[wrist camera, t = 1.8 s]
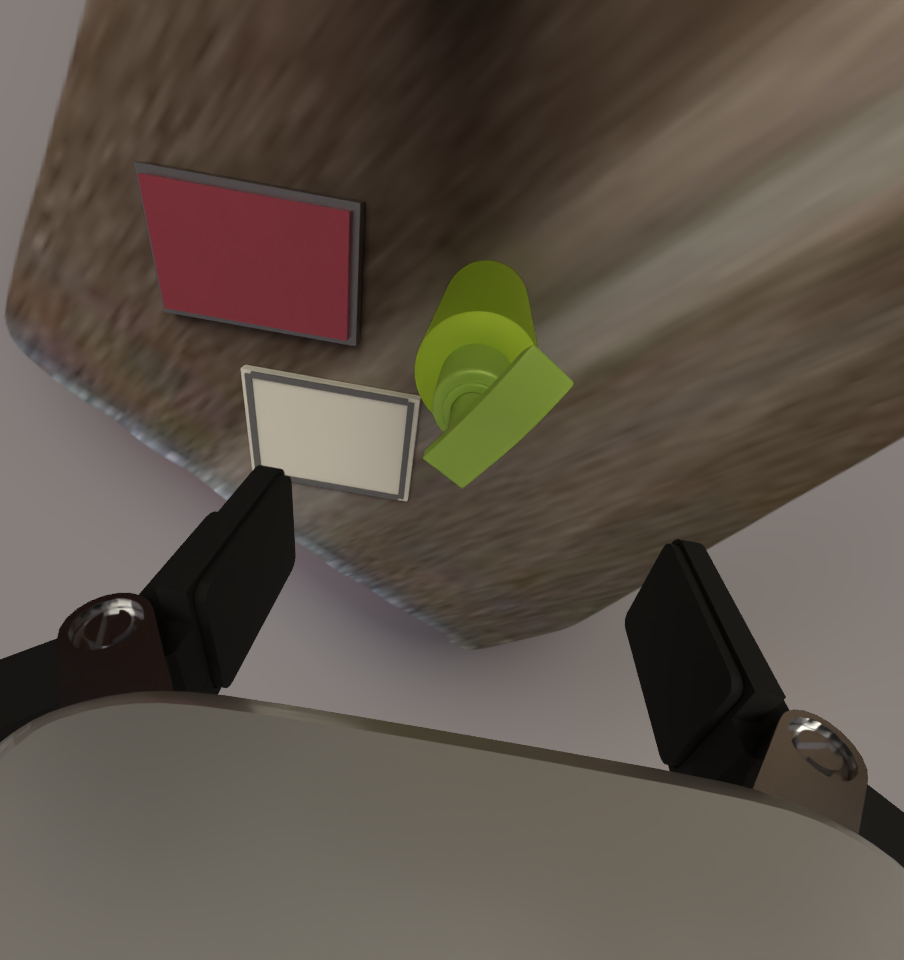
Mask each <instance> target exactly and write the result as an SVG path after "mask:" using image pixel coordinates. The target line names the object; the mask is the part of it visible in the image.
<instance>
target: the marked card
mask: <svg viewBox="0 0 904 960" xmlns="http://www.w3.org/2000/svg"><path fill="white" fill-rule="evenodd" d="M241 377H242V385H243V394H244V402H245V411H246V420H247V428H248V437H249V445H250V454H251V462H252V471H253V470H254V468H255V467H256V466H258V465H263V466H269V467H274V468H280V469H283V470H284V473H285V475H286V476H290V478H291V482H294V483H300V484H305V485H311V486H317V487H322V488H328V489H334V490H339V491H345V492H351V493H356V494H362V495H368V496H374V497H379V498H385V499H391V500H396V501H398V500H402V501H408V497H409V490H410V482H411V474H412V465H413V457H414V449H415V441H416V433H417V424H418V416H419V408H420V400H421V397H420V396H418V395H413V394H407V393H401V392H396V391H390V390H385V389H379V388H373V387H368V386H362V385H357V384H351V383H345V382H340V381H334V380H329V379H323V378H317V377H312V376H306V375H301V374H295V373H290V372H284V371H278V370H273V369H267V368H262V367H256V366H250V365H244V366H243V367H242V368H241Z"/></svg>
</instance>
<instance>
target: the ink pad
mask: <svg viewBox="0 0 904 960" xmlns="http://www.w3.org/2000/svg"><path fill="white" fill-rule="evenodd" d="M134 166H135V171H136V176H137V181H138V186H139V191H140V196H141V201H142V206H143V211H144V216H145V221H146V226H147V231H148V236H149V241H150V246H151V251H152V256H153V261H154V266H155V271H156V276H157V281H158V285H159V290H160V295H161V300H162V305H163V310H164V312H167V313H173V314H178V315H184V316H189V317H195V318H201V319H206V320H212V321H217V322H223V323H228V324H234V325H240V326H245V327H251V328H256V329H262V330H267V331H273V332H279V333H284V334H290V335H295V336H301V337H306V338H312V339H317V340H323V341H329V342H334V343H340V344H345V345H351V346H356V345H357V344H358V343H359V342H360V327H361V300H362V273H363V246H364V219H365V202H363V201H357V200H352V199H347V198H341V197H336V196H330V195H325V194H319V193H314V192H308V191H303V190H297V189H292V188H286V187H281V186H275V185H270V184H265V183H259V182H254V181H248V180H243V179H237V178H232V177H226V176H221V175H215V174H210V173H204V172H199V171H193V170H188V169H182V168H177V167H172V166H166V165H161V164H155V163H150V162H134Z"/></svg>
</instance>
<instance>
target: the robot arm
mask: <svg viewBox="0 0 904 960" xmlns="http://www.w3.org/2000/svg"><path fill="white" fill-rule="evenodd" d="M294 562H295V538H294V519H293V501H292V482H291V478H290V476H286V475H285V473H284V470H283V469H280V468H274V467H269V466H263V465H258V466H256V467H255V468H254V470H253V471H252V472H251V473H250V474H249V476H248V477H247V478H246V479H245V480H244V481H243V483H242V484H241V485H240V486H239V487H238V489H237V490H236V491H235V492H234V493H233V495H232V496H231V497H230V498H229V499H228V500H227V502H226V503H225V504H224V505H223V507H222V508H221V509H220V510H219V511H218V512H212V513H210V514H209V515H208V516H207V517H206V518H205V519H204V520H203V521H202V522H201V523H200V524H199V526H198V527H197V528H196V529H195V530H194V532H193V533H192V534H191V535H190V536H189V537H188V538H187V540H186V541H185V542H184V543H183V544H182V545H181V546H180V548H179V549H178V550H177V551H176V552H175V553H174V555H173V556H172V557H171V558H170V559H169V560H168V562H167V563H166V564H165V565H164V566H163V567H162V568H161V570H160V571H159V572H158V573H157V574H156V575H155V577H154V578H153V579H152V580H151V581H150V583H149V584H148V585H147V586H146V587H145V588H144V589H143V590H142V592H141V593H140V594H139V595H137V594H133V593H115V594H110V595H105V596H102V597H99V598H96V599H94V600H91V601H89V602H87V603H86V604H84V605H82V606H81V607H79V608H77V609H76V610H75V611H74V612H73V613H72V614H70V615H69V616H68V617H67V618H66V619H65V621H64V622H63V624H62V625H61V627H60V628H59V632H58V636H57V639H55V640H52V641H49V642H46V643H44V644H41V645H38V646H35V647H33V648H30V649H27V650H25V651H22V652H19V653H17V654H14V655H11V656H9V657H6V658H3V659H0V960H904V812H902V811H901V810H900V809H899V808H897V807H896V806H895V805H893V804H892V803H891V802H889V801H888V800H887V799H886V798H884V797H883V796H882V795H880V794H879V793H878V792H877V791H875V790H874V789H873V788H871V787H870V786H869V785H868V784H867V783H868V774H867V768H866V765H865V763H864V761H863V758H862V756H861V755H860V753H859V752H858V751H857V749H856V748H855V746H854V745H853V744H852V743H851V741H850V740H849V739H847V737H846V736H845V735H844V734H843V733H842V732H841V731H839V730H838V729H837V728H836V727H834V726H833V725H832V724H831V723H829V722H828V721H826V720H824V719H822V718H821V717H819V716H817V715H815V714H812V713H809V712H806V711H803V710H790V711H789V709H788V707H787V705H786V703H785V701H784V699H785V698H786V697H785V695H784V693H783V691H782V689H781V688H780V686H779V684H778V682H777V680H776V678H775V677H774V675H773V673H772V671H771V669H770V667H769V665H768V663H767V662H766V660H765V658H764V656H763V654H762V652H761V651H760V649H759V647H758V645H757V643H756V641H755V639H754V638H753V636H752V634H751V632H750V630H749V629H748V627H747V625H746V623H745V621H744V619H743V617H742V615H741V614H740V612H739V610H738V608H737V606H736V604H735V602H734V601H733V599H732V597H731V595H730V593H729V591H728V590H727V588H726V586H725V584H724V582H723V580H722V578H721V577H720V575H719V573H718V571H717V569H716V567H715V566H714V564H713V562H712V560H711V558H710V556H709V554H708V553H707V551H706V549H705V547H704V546H703V545H702V544H700V543H696V542H691V541H685V540H679V539H677V540H674V541H673V542H672V543H671V544H666V545H665V546H664V547H663V549H662V551H661V553H660V555H659V556H658V558H657V560H656V562H655V564H654V565H653V567H652V569H651V571H650V573H649V574H648V576H647V578H646V580H645V582H644V583H643V585H642V587H641V589H640V591H639V593H638V594H637V596H636V598H635V600H634V602H633V604H632V605H631V607H630V609H629V611H628V612H627V615H626V618H625V629H626V633H627V636H628V640H629V643H630V647H631V651H632V654H633V658H634V662H635V666H636V669H637V673H638V677H639V681H640V684H641V688H642V692H643V695H644V699H645V703H646V707H647V710H648V714H649V718H650V721H651V725H652V728H653V732H654V736H655V740H656V744H657V747H658V751H659V755H660V757H661V760H662V761H663V763H664V764H667V765H668V766H669V770H670V771H665V770H661V769H655V768H650V767H645V766H639V765H633V764H627V763H622V762H617V761H611V760H605V759H600V758H594V757H589V756H583V755H577V754H572V753H566V752H561V751H555V750H549V749H544V748H538V747H532V746H527V745H521V744H515V743H509V742H504V741H498V740H492V739H486V738H481V737H475V736H469V735H463V734H457V733H451V732H446V731H440V730H434V729H428V728H423V727H417V726H411V725H405V724H399V723H393V722H387V721H381V720H376V719H370V718H364V717H358V716H352V715H346V714H340V713H334V712H327V711H322V710H316V709H310V708H304V707H297V706H292V705H285V704H278V703H272V702H264V701H258V700H251V699H245V698H238V697H232V696H225V695H218V693H219V691H220V689H221V687H223V688H228V687H229V686H230V685H231V683H232V682H233V680H234V678H235V676H236V674H237V672H238V671H239V669H240V667H241V665H242V663H243V661H244V659H245V657H246V655H247V654H248V652H249V650H250V648H251V646H252V644H253V642H254V640H255V639H256V636H257V635H258V633H259V631H260V629H261V627H262V625H263V623H264V621H265V620H266V618H267V616H268V614H269V612H270V610H271V608H272V606H273V605H274V603H275V601H276V599H277V597H278V595H279V593H280V592H281V590H282V588H283V586H284V584H285V582H286V580H287V578H288V576H289V575H290V572H291V571H292V569H293V566H294Z"/></svg>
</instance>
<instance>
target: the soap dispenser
mask: <svg viewBox="0 0 904 960" xmlns="http://www.w3.org/2000/svg"><path fill="white" fill-rule="evenodd" d="M415 382H416V386H417V389H418V392H419V395H420V397H421V399H422V401H423V402H424V404H425V405H426V407H427V408H428V409H429V410H430V412H431V413H432V414H433V416H434V419H435V422H436V423H437V425H438V427H439V428H440V429H441V431H442V432H443V433H442V434H441V435H440V436H439V437H438V438H437V439H436V440H435V441H434V442H433V443H432V444H431V445H430V446H429V447H428V448H427V449H426V450H425V452H424V455H423V459H424V460H425V461H427V462H428V463H429V464H430V465H432V466H433V467H434V468H436V469H437V470H438V471H440V472H441V473H442V474H444V475H445V476H446V477H448V478H449V479H450V480H451V481H453V482H454V483H455V484H457V485H458V486H459V487H461V488H462V489H463V488H464V487H465V486H466V485H468V484H469V483H470V482H471V481H473V480H474V479H475V478H476V477H478V476H479V475H480V474H481V473H482V472H484V471H485V470H486V469H487V468H489V467H490V466H491V465H492V464H493V463H495V462H496V461H497V460H498V459H499V458H500V457H502V456H503V455H504V454H505V453H506V452H507V451H509V450H510V449H511V448H512V447H513V446H514V445H515V444H516V443H518V442H519V441H520V440H521V439H522V438H523V437H524V436H525V435H526V434H527V433H528V432H529V431H530V430H531V429H532V428H533V427H534V426H535V425H536V424H537V423H538V422H539V421H540V420H541V419H542V418H543V417H544V416H545V415H546V414H547V413H548V412H549V411H550V410H551V409H552V408H553V407H554V406H555V405H556V404H557V403H558V402H559V401H560V399H561V398H562V397H563V396H564V395H565V394H566V393H567V392H568V391H569V390H570V388H571V387H572V386H573V385H574V382H573V381H572V380H571V379H570V378H569V377H568V376H567V375H566V374H565V373H564V372H563V371H562V370H561V369H560V368H559V367H558V366H557V365H556V364H555V363H553V362H552V361H551V360H550V359H549V358H548V357H547V356H546V355H545V354H544V353H543V352H542V351H541V350H540V349H539V348H538V345H537V340H536V335H535V330H534V325H533V320H532V315H531V310H530V304H529V299H528V294H527V290H526V287H525V285H524V283H523V281H522V279H521V278H520V277H519V275H518V274H517V273H516V272H515V271H514V270H513V269H511V268H510V267H509V266H507V265H505V264H503V263H500V262H497V261H491V260H482V261H477V262H473V263H471V264H469V265H467V266H465V267H463V268H462V269H461V270H460V271H458V272H457V273H456V274H455V276H454V277H453V278H452V279H451V281H450V283H449V285H448V287H447V289H446V291H445V293H444V295H443V298H442V300H441V302H440V304H439V306H438V308H437V311H436V313H435V315H434V317H433V319H432V321H431V324H430V326H429V328H428V330H427V332H426V334H425V337H424V339H423V341H422V343H421V345H420V348H419V350H418V353H417V356H416V361H415Z"/></svg>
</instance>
